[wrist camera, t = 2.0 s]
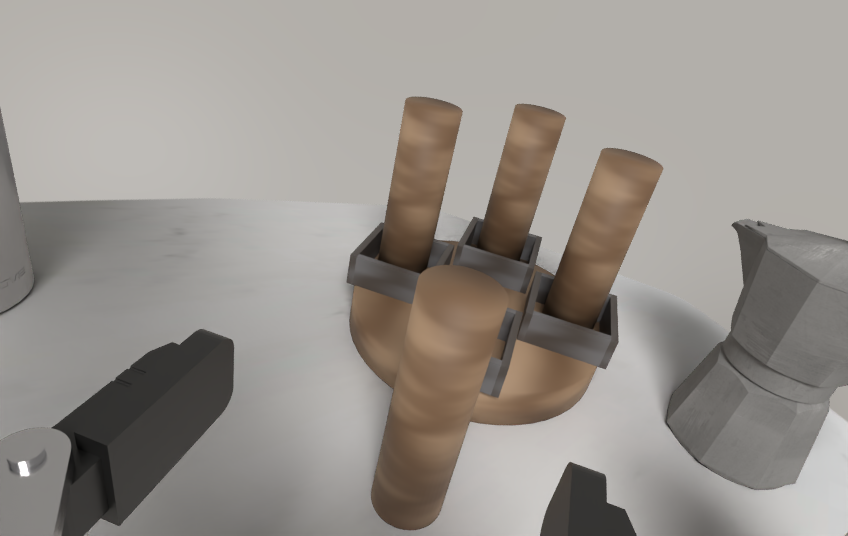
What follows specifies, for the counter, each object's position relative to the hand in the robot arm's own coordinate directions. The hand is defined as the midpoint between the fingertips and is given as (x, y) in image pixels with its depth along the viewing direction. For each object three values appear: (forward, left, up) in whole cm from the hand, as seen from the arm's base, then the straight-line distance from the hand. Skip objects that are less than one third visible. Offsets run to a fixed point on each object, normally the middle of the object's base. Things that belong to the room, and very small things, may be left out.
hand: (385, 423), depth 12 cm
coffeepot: (+21, +25, -17) cm, 37 cm away
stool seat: (0, +28, -17) cm, 33 cm away
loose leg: (0, +11, -17) cm, 20 cm away
